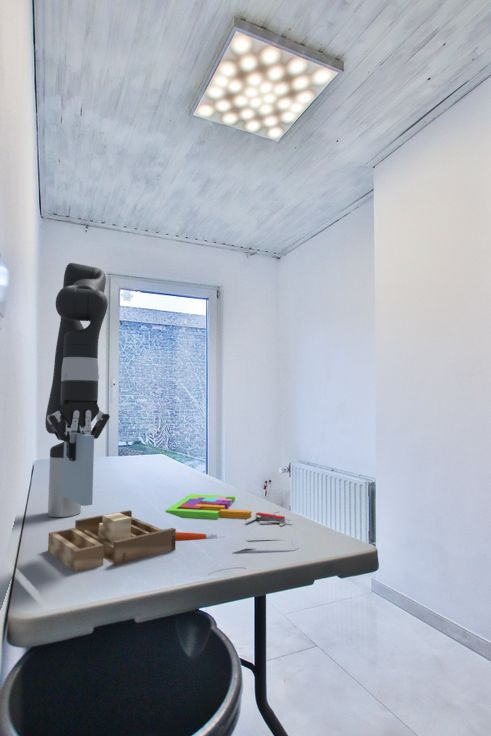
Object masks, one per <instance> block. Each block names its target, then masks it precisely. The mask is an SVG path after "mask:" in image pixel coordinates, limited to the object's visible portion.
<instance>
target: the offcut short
mask: <svg viewBox="0 0 491 736" xmlns="http://www.w3.org/2000/svg"><path fill="white" fill-rule="evenodd" d="M113 513H114V514H112V513H108V515H106V514H102V515H103V524H102V525H103V526H105V527H107V528H109V529H110V530H112V531H118V530H122V529H127V528H131V517H128V516H126V515H124V514H121V513H117V512H113Z"/></svg>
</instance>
